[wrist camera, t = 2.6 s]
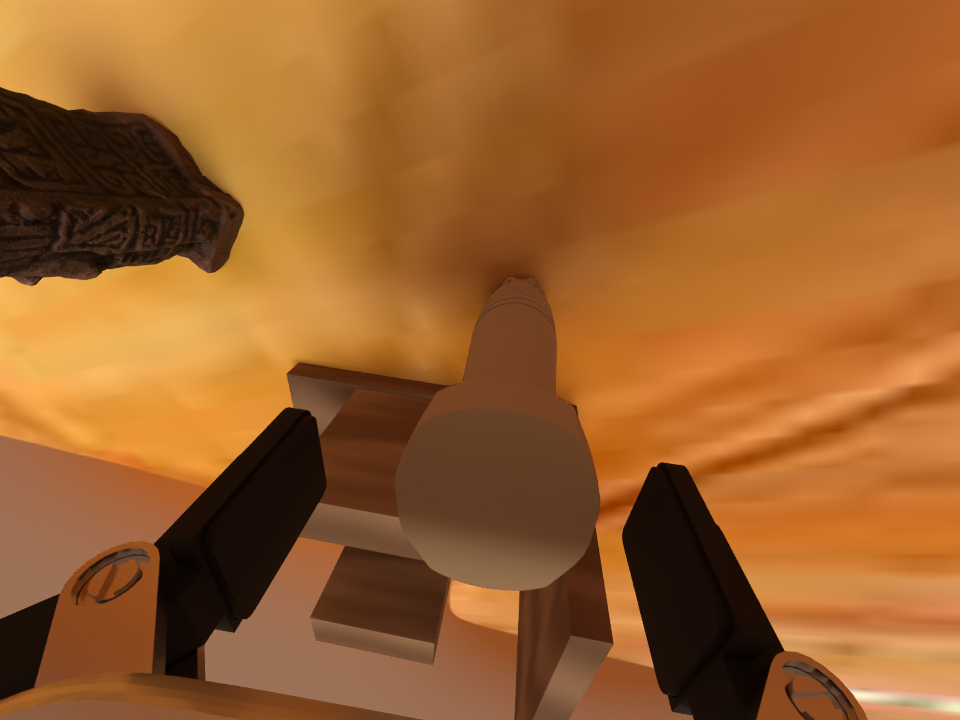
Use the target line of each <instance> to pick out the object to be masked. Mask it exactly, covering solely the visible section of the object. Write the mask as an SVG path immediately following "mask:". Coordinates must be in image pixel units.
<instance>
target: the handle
mask: <svg viewBox="0 0 960 720" xmlns="http://www.w3.org/2000/svg"><path fill="white" fill-rule="evenodd" d="M556 357H557V340H556V331H555V324H554V319H553V315H552V312H551V308H550V306H549V303H548V301H547V299H546V298H545V296H544V295H543V293H542V292H541V291H540V290H539V286H538V282H537V281H536V280H534V279H533V278H528V279H517V278H514V277H513V276H511V277H508V278H506V279H505V280H504V282H503V284H502V286H501V287H500V288H498V289H497V290H496V291H495V292H494V293H493V294H492V295H491V297H490V298H489V299H488V301H487V302H486V304H485V306H484V308H483V310H482V312H481V314H480V316H479V318H478V321H477V323H476V326H475V329H474V332H473V335H472V339H471V344H470V349H469V353H468V358H467V362H466V367H465V372H464V376H463V380H462V382H461V383H458V384H455V385H452V386H449V387H447V388H445V389H442V390H440V391H438V392H437V393H436V394H435V396H434V397H433V399H432V400H431V402H430V404H429V405H428V407H427V409H426V410H425V412H424V414H423V415H422V417H421V419H420V420H419V422H418V424H417V426H416V428H415V430H414V432H413V434H412V436H411V438H410V440H409V442H408V444H407V446H406V448H405V450H404V453H403V455H402V457H401V459H400V462H399V465H398V468H397V470H396V473H395V492H396V501H397V510H398V516H399V520H400V524H401V527H402V529H403V531H404V533H405V534H406V536H407V538H408V540H409V541H410V542H411V544H412V545H413V546H414V548H415V549H416V550H417V552H418V553H419V554H420V556H421V557H422V558H423V560H424V561H425V562H426V563H427V565H428V566H429V567H430V568H431V569H432V570H434V571H436V572H438V573H440V574H442V575H444V576H446V577H448V578H451V579H453V580H456V581H459V582H462V583H466V584H469V585H473V586H478V587H483V588H489V589H497V590H511V591H523V590H532V589H538V588H543V587H547V586H548V585H549V584H551V583H552V582H553V581H555V580H556V579H557V578H559V577H560V576H561V575H562V574H564V573H565V572H566V571H567V570H569V569H570V568H571V567H572V566H574V565H575V564H576V563H577V562H578V561H579V560H580V558H581V557H582V556H583V555H584V554H585V552H586V550H587V548H588V546H589V544H590V541H591V538H592V535H593V531H594V528H595V525H596V522H597V518H598V514H599V507H600V495H599V488H598V480H597V476H596V471H595V467H594V463H593V459H592V455H591V452H590V449H589V446H588V443H587V440H586V437H585V434H584V431H583V429H582V426H581V424H580V421H579V419H578V416H577V414H576V411H575V409H574V407H573V406H571V405H570V404H568V403H567V402H566V401H564V400H563V399H562V398H560V397H558V396H556Z"/></svg>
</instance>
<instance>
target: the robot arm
mask: <svg viewBox="0 0 960 720" xmlns="http://www.w3.org/2000/svg"><path fill="white" fill-rule="evenodd" d="M326 485H327V481H326V475H325V469H324V463H323V456H322V450H321V444H320V438H319V432H318V426H317V420H316V418H315V417H314V416H312V415H311V412H310V411H309V410H304V409H297V408H290V407H288V408H285V409H284V410H283V411H282V412H281V413H280V414H279V415H278V416H277V417H276V418H275V419H274V420H273V421H272V422H271V423H270V424H269V426H268V427H267V428H266V429H265V430H264V431H263V432H262V433H261V434H260V435H259V436H258V437H257V438H256V439H255V440H254V441H253V442H252V443H251V444H250V445H249V446H248V447H247V448H246V450H245V451H244V452H243V453H242V454H240V455H239V456H238V457H237V458H236V459H235V460H234V461H233V462H232V463H231V464H230V465H229V466H228V467H227V468H226V469H225V470H224V472H223V473H222V474H221V475H220V476H219V477H218V478H217V479H216V480H215V481H214V482H213V483H212V484H211V485H210V486H209V487H208V488H207V490H205V491H204V492H203V493H202V494H201V496H200V497H199V498H198V499H197V500H196V501H195V502H194V503H193V504H192V505H191V506H190V507H189V508H188V509H187V510H186V511H185V512H184V513H183V514H182V515H181V516H180V517H179V518H178V519H177V521H175V523H174V524H173V525H172V526H171V527H170V528H169V529H168V530H167V531H166V532H165V533H164V534H163V535H162V536H161V537H160V538H159V539H158V540H157V541H156V542H155V543H154V544H152V543H148V542H145V541H137V542H128V543H125V544H121V545H117V546H115V547H113V548H110V549H108V550H106V551H103V552H102V553H100V554H98V555H97V556H95V557H94V558H92V559H90V560H89V561H87V562H86V563H85V564H84V565H83V566H81V567H80V568H79V569H78V570H77V571H76V572H74V574H73V575H72V576H71V577H70V578H69V580H68V581H67V582H66V583H65V585H64V587H63V589H62V591H61V593H60V594H58V595H56V596H53V597H51V598H48V599H46V600H44V601H41V602H39V603H37V604H34V605H32V606H30V607H27V608H25V609H23V610H20V611H18V612H16V613H13V614H11V615H9V616H6V617H4V618H2V619H0V720H420V719H415V718H410V717H405V716H399V715H394V714H389V713H383V712H378V711H373V710H367V709H362V708H356V707H350V706H345V705H340V704H335V703H329V702H324V701H317V700H312V699H306V698H301V697H296V696H291V695H285V694H280V693H274V692H268V691H263V690H258V689H252V688H247V687H240V686H234V685H228V684H221V683H215V682H209V681H205V652H204V644H205V643H206V641H207V640H208V638H209V637H210V635H211V634H212V632H213V631H214V629H217V630H222V631H228V632H233V633H234V632H235V631H236V629H237V628H238V626H239V624H240V623H241V621H242V619H247V618H248V617H250V616H251V615H252V613H253V612H254V610H255V609H256V607H257V605H258V604H259V602H260V600H261V599H262V597H263V595H264V594H265V592H266V590H267V588H268V587H269V585H270V584H271V582H272V580H273V579H274V577H275V575H276V574H277V572H278V570H279V569H280V567H281V565H282V563H283V562H284V560H285V558H286V557H287V555H288V553H289V552H290V550H291V549H292V547H293V545H294V543H295V542H296V540H297V538H298V537H299V535H300V534H301V532H302V530H303V529H304V527H305V525H306V524H307V522H308V520H309V519H310V517H311V515H312V513H313V512H314V510H315V508H316V507H317V505H318V503H319V502H320V500H321V498H322V497H323V495H324V493H325V490H326ZM622 541H623V546H624V550H625V554H626V558H627V562H628V565H629V569H630V573H631V577H632V581H633V585H634V589H635V593H636V597H637V601H638V605H639V609H640V613H641V617H642V621H643V625H644V629H645V633H646V637H647V641H648V645H649V649H650V653H651V657H652V661H653V665H654V669H655V673H656V677H657V681H658V684H659V687H660V689H661V691H662V692H663V693H664V694H667V695H668V698H669V702H670V706H671V710H672V712H677V713H682V714H688V715H693V718H694V720H868V719H867V717H866V715H865V713H864V710H863V709H862V707H861V706H860V704H859V703H858V701H857V700H856V698H855V697H854V695H853V694H852V693H851V692H850V691H849V690H848V688H847V687H846V686H845V685H844V684H843V683H842V682H841V681H840V679H839V678H837V677H836V676H835V675H834V674H833V673H831V672H830V671H829V670H828V669H827V668H826V667H824V666H823V665H821V664H820V663H818V662H816V661H815V660H813V659H812V658H810V657H808V656H805V655H803V654H800V653H797V652H790V651H784V649H783V647H782V645H781V643H780V641H779V639H778V637H777V635H776V633H775V631H774V630H773V628H772V626H771V624H770V622H769V620H768V618H767V616H766V614H765V612H764V610H763V609H762V607H761V605H760V603H759V601H758V599H757V597H756V595H755V593H754V591H753V589H752V588H751V586H750V584H749V582H748V580H747V578H746V576H745V574H744V572H743V570H742V568H741V567H740V565H739V563H738V561H737V559H736V557H735V555H734V553H733V551H732V549H731V547H730V545H729V544H728V542H727V540H726V538H725V536H724V534H723V532H722V531H721V529H720V528H719V526H718V525H717V524H715V522H714V520H713V518H712V516H711V514H710V512H709V510H708V508H707V506H706V504H705V502H704V500H703V499H702V497H701V495H700V493H699V491H698V489H697V487H696V485H695V483H694V481H693V479H692V477H691V475H690V473H689V471H688V470H687V468H686V467H685V466H683V465H676V464H670V463H659V464H658V466H657V467H652V468H651V469H650V471H649V473H648V476H647V478H646V480H645V482H644V484H643V487H642V489H641V491H640V493H639V495H638V498H637V500H636V502H635V504H634V506H633V509H632V511H631V513H630V515H629V517H628V520H627V522H626V524H625V526H624V528H623V533H622Z"/></svg>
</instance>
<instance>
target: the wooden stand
mask: <svg viewBox="0 0 960 720" xmlns="http://www.w3.org/2000/svg"><path fill="white" fill-rule="evenodd" d="M287 378H288V383H289V388H290V392H291V397H292V402H293V407H294V408H297V409H304V410H309V411H310V412H311V415H312V416H314V417H315V418H316V420H317V426H318V432H319V438H320V444H321V450H322V456H323V463H324V469H325V475H326V481H327V485H326V490H325V493H324V495H323V497H322V498H321V500H320V502H319V503H318V505H317V507H316V508H315V510H314V512H313V513H312V515H311V517H310V519H309V520H308V522H307V524H306V525H305V527H304V529H303V530H302V532H301V534H300V535H299V537H303V538H309V539H314V540H319V541H324V542H330V543H335V544H340V545H345V547H344V549H343V551H342V553H341V555H340V557H339V559H338V561H337V563H336V566H335V567H334V570H333V572H332V574H331V576H330V578H329V580H328V582H327V584H326V586H325V588H324V590H323V592H322V594H321V596H320V598H319V600H318V602H317V604H316V606H315V609H314V610H313V612H312V615H311V617H310V620H311V623H312V627H313V630H314V634H315V637H316V640H318V641H323V642H327V643H332V644H336V645H341V646H346V647H351V648H355V649H360V650H364V651H370V652H374V653H379V654H383V655H388V656H393V657H398V658H403V659H407V660H412V661H416V662H421V663H426V664H431V665H433V663H434V658H435V653H436V648H437V643H438V638H439V633H440V628H441V623H442V618H443V613H444V608H445V603H446V599H447V594H448V589H449V584H450V579H451V578H448V577H446V576H444V575H442V574H440V573H438V572H436V571H434V570H432V569H431V568H430V567H429V566H428V565H427V563H426V562H425V561H424V560H423V558H422V557H421V556H420V554H419V553H418V552H417V550H416V549H415V548H414V546H413V545H412V544H411V542H410V541H409V540H408V538H407V536H406V534H405V533H404V531H403V529H402V527H401V524H400V520H399V516H398V510H397V501H396V492H395V473H396V470H397V468H398V465H399V462H400V459H401V457H402V455H403V453H404V450H405V448H406V446H407V444H408V442H409V440H410V438H411V436H412V434H413V432H414V430H415V428H416V426H417V424H418V422H419V420H420V419H421V417H422V415H423V414H424V412H425V410H426V409H427V407H428V405H429V404H430V402H431V400H432V399H433V397H434V396H435V394H436V393H437V392H438V391H440V390H442V389H445V388H447V387H449V386H443V385H436V384H430V383H424V382H417V381H411V380H404V379H398V378H392V377H385V376H379V375H372V374H366V373H360V372H353V371H347V370H340V369H334V368H328V367H321V366H315V365H309V364H302V363H298V364H297V365H296V366H295V367H294V368H293V369H292V370H290V371H289V372H288V373H287ZM573 407H574V409H575V411H576V414H577V416H578V412H577V406H573ZM578 419H579V418H578ZM612 646H613V637H612V631H611V624H610V618H609V612H608V605H607V599H606V592H605V586H604V579H603V573H602V566H601V560H600V554H599V547H598V541H597V534H596V528H594V531H593V535H592V538H591V541H590V544H589V546H588V548H587V550H586V552H585V554H584V555H583V556H582V557H581V558H580V560H579V561H578V562H577V563H576V564H575V565H574V566H572V567H571V568H570V569H569V570H567V571H566V572H565V573H564V574H562V575H561V576H560V577H559V578H557V579H556V580H555V581H553V582H552V583H551V584H549V585H548V586H547V587H543V588H538V589H532V590H523V591H520V596H519V621H518V646H517V672H516V698H515V720H569V718H570V716H571V714H572V713H573V711H574V709H575V708H576V706H577V704H578V703H579V701H580V699H581V698H582V696H583V694H584V693H585V691H586V689H587V688H588V686H589V684H590V683H591V681H592V679H593V678H594V676H595V674H596V672H597V671H598V669H599V667H600V666H601V664H602V662H603V660H604V659H605V657H606V656H607V654H608V652H609V651H610V649H611V647H612Z"/></svg>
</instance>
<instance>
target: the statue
mask: <svg viewBox="0 0 960 720" xmlns="http://www.w3.org/2000/svg"><path fill="white" fill-rule="evenodd" d="M242 218H243V211H242V209H241V207H240V205H239V204H238V203H237V202H236V201H234V200H233V199H232V198H231V196H230V195H229V194H225V193H223V192H222V191H221V190H220V189H219V188H218V187H216V186H215V185H214V184H213V183H212V182H211V181H209V180H208V179H207V178H206V177H205V176H202V175H201V173H200V171H199V169H198V167H197V165H196V163H195V162H194V160H193V158H192V157H191V155H190V154H189V153H188V152H187V151H186V149H185V148H184V147H183V146H182V145H181V143H180V141H179V139H178V137H177V136H176V135H174V134H173V133H172V132H170V131H168V130H167V129H165V128H163V127H162V126H160V125H159V124H158V123H157V122H155V121H153V120H152V119H151V118H149V117H147V116H146V115H144V114H135V113H123V112H90V111H86V110H84V109H78V110H69V111H68V110H66V109H63V108H61V107H59V106H56V105H53V104H51V103H48V102H45V101H42V100H38V99H35V98H33V97H31V96H29V95H26V94H22V93H17V92H13V91H9V90H6V89H4V88H1V87H0V278H1V277H5V276H8V277H13V278H14V279H16V280H17V281H18V282H20V283H21V284H25V285H29V286H33V285H36V284H37V283H38V282H39V281H40V280H41V279H42V278H43V277H57V276H60V277H64V278H70V279H80V280H88V279H92V278H95V277H97V276H98V275H100V274H101V273H102V271H104V270H106V269H114V268H120V267H124V266H141V265H153V264H158V263H160V262H162V261H164V260H167V259H170V258H172V257H173V256H175V255H177V254H178V255H179V256H183V257H187V258H189V259H190V260H191V261H192V262H194V263H195V264H196V265H197V266H198V267H199V268H201V269H202V270H204V271H206V272H207V273H213V272H216V271H217V270H219V269H220V268H221V267H222V266H223V265H224V264H225V262H226V261H227V259H228V255H229V251H230V249H231V246H232V244H233V243H234V241H235V239H236V237H237V233H238V230H239V228H240V226H241V223H242Z"/></svg>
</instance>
